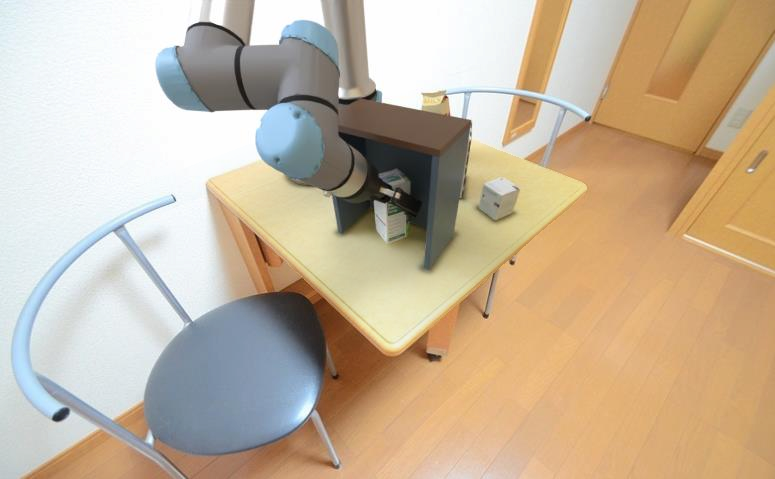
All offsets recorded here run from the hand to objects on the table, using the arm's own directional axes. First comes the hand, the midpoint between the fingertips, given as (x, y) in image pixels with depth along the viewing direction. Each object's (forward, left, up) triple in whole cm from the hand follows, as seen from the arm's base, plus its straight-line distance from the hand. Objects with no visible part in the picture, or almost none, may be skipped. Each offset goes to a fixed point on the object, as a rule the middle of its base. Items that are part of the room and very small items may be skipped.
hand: (399, 205), depth 69 cm
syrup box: (0, -3, -6) cm, 7 cm away
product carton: (+17, +17, -7) cm, 25 cm away
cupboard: (0, -3, -7) cm, 7 cm away
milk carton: (-9, +35, -7) cm, 37 cm away
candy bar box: (+4, +22, -7) cm, 24 cm away
